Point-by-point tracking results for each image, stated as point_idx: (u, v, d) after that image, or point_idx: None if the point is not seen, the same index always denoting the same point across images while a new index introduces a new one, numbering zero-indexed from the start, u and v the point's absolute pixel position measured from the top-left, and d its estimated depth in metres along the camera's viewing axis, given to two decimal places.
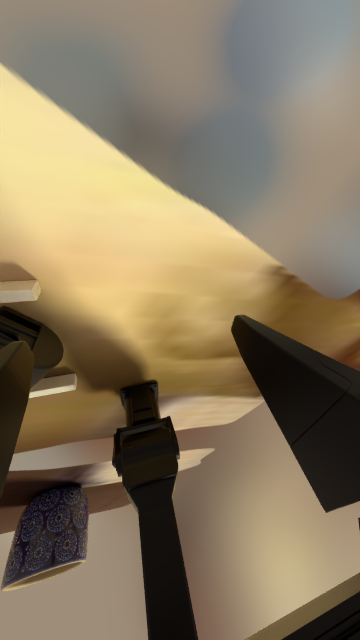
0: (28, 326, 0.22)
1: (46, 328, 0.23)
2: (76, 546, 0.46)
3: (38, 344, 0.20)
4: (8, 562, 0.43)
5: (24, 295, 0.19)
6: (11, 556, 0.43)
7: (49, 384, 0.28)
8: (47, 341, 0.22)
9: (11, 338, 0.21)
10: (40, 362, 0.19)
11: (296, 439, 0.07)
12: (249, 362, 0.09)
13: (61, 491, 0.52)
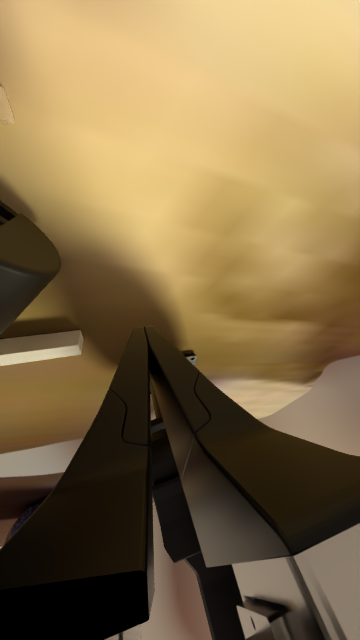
0: None
1: (28, 220, 0.12)
2: None
3: (8, 230, 0.10)
4: None
5: None
6: None
7: (38, 344, 0.17)
8: (29, 236, 0.11)
9: None
10: (8, 256, 0.09)
11: (182, 475, 0.06)
12: (153, 380, 0.08)
13: None
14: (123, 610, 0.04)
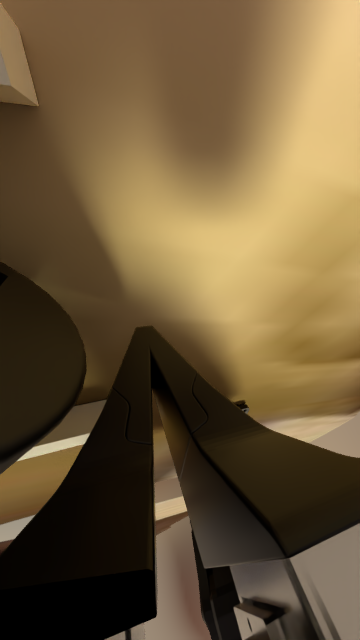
0: None
1: (27, 282, 0.07)
2: None
3: None
4: None
5: None
6: None
7: (61, 427, 0.12)
8: (28, 323, 0.06)
9: None
10: None
11: (180, 476, 0.06)
12: (151, 381, 0.08)
13: None
14: (127, 608, 0.04)
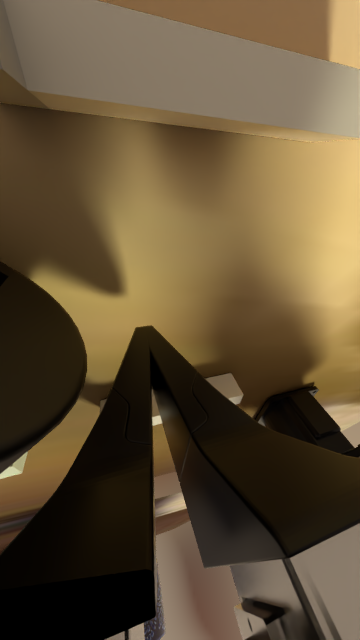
0: None
1: (27, 281, 0.07)
2: (156, 616, 0.33)
3: None
4: None
5: (355, 105, 0.05)
6: None
7: None
8: (29, 322, 0.06)
9: None
10: None
11: (180, 476, 0.06)
12: (151, 381, 0.08)
13: None
14: (126, 609, 0.04)
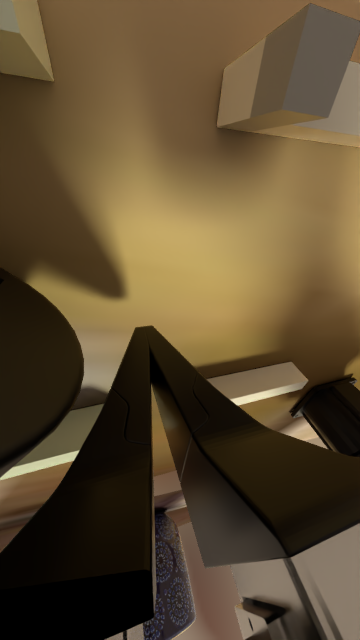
0: None
1: (23, 285, 0.07)
2: (188, 600, 0.34)
3: None
4: None
5: None
6: None
7: (269, 380, 0.16)
8: (24, 327, 0.06)
9: None
10: None
11: (181, 476, 0.06)
12: (151, 381, 0.08)
13: None
14: (125, 609, 0.04)
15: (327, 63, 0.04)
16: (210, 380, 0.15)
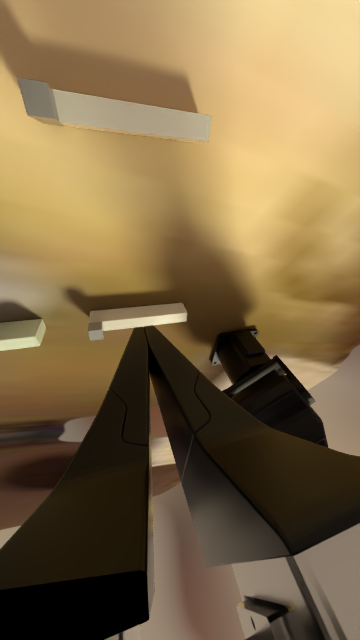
0: None
1: None
2: None
3: None
4: None
5: (198, 127, 0.13)
6: None
7: (157, 311, 0.21)
8: None
9: None
10: None
11: (182, 476, 0.06)
12: (153, 380, 0.08)
13: None
14: (123, 610, 0.04)
15: (39, 97, 0.09)
16: (112, 310, 0.21)
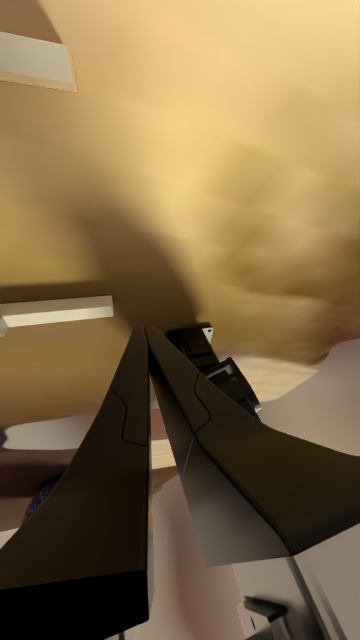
0: None
1: None
2: None
3: None
4: None
5: (51, 61, 0.10)
6: None
7: (76, 305, 0.19)
8: None
9: None
10: None
11: (182, 476, 0.06)
12: (152, 380, 0.08)
13: None
14: (123, 610, 0.04)
15: None
16: (22, 303, 0.18)
